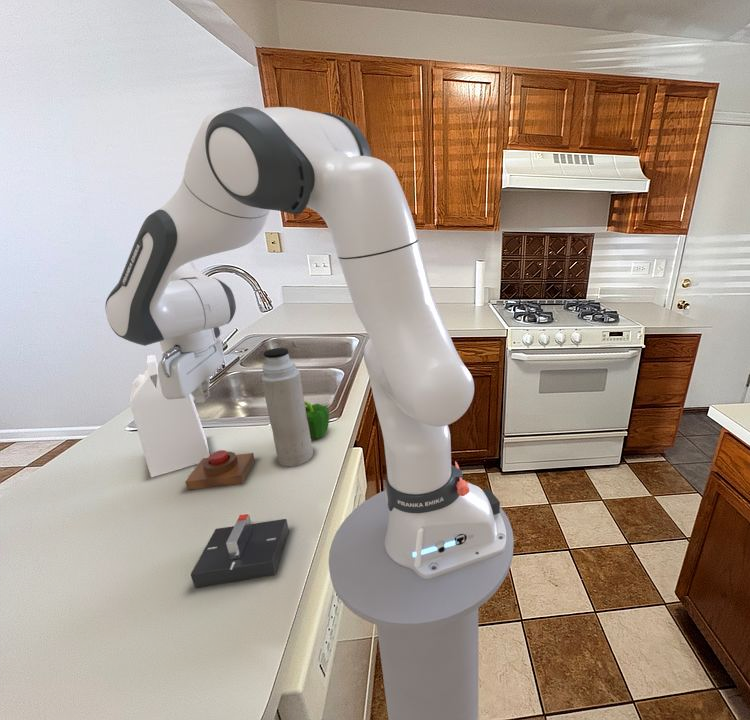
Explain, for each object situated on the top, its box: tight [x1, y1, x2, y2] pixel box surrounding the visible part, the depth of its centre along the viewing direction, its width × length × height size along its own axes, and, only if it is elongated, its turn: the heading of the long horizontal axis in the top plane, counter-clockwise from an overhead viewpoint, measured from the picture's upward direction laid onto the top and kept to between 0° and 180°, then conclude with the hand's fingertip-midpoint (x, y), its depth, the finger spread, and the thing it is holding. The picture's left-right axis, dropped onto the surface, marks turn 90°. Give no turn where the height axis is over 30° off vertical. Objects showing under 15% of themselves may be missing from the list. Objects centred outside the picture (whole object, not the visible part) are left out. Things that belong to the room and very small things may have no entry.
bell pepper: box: [304, 400, 330, 441], centre depth 106 cm, size 8×8×10 cm
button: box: [209, 449, 229, 465], centre depth 90 cm, size 4×4×2 cm
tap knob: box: [226, 513, 253, 559], centre depth 68 cm, size 6×2×4 cm, turn 13°
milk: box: [129, 354, 210, 478], centre depth 94 cm, size 12×12×26 cm
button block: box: [184, 451, 256, 491], centre depth 91 cm, size 11×9×4 cm
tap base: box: [190, 518, 290, 589], centre depth 69 cm, size 12×11×3 cm
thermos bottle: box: [260, 347, 314, 467], centre depth 93 cm, size 8×8×28 cm
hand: (203, 400), depth 85 cm, fingers closed
